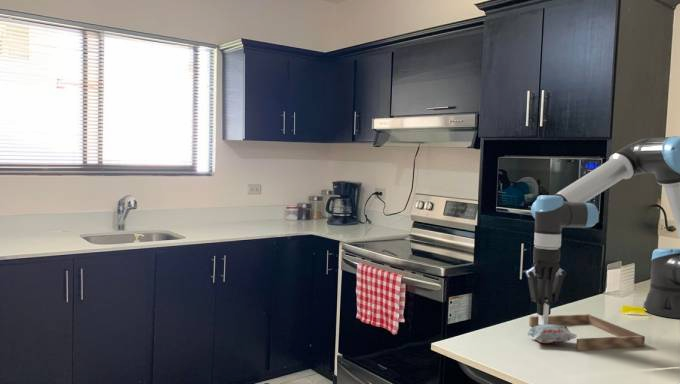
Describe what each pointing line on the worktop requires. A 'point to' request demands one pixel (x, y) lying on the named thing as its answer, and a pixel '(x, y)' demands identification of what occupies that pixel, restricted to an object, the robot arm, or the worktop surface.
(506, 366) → the worktop surface
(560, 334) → the packaged food
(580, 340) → the wooden frame
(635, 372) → the worktop surface
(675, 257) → the robot arm
